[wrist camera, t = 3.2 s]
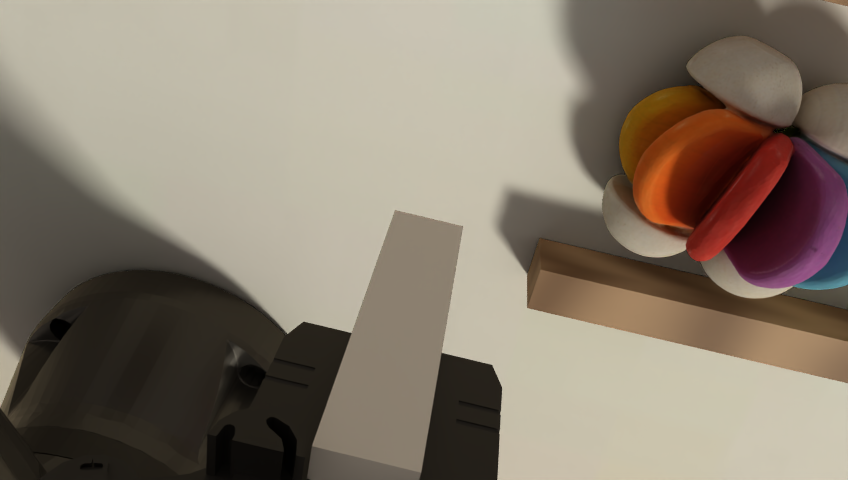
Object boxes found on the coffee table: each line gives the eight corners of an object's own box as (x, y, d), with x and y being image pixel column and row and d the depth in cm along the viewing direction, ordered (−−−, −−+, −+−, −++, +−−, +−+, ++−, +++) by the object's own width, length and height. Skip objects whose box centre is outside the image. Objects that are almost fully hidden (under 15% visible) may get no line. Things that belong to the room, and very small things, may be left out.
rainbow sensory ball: (683, -1, 24) (736, 58, 18) (915, 109, 25) (1042, 201, 19) (567, 191, 29) (579, 291, 22) (768, 279, 30) (832, 398, 23)
